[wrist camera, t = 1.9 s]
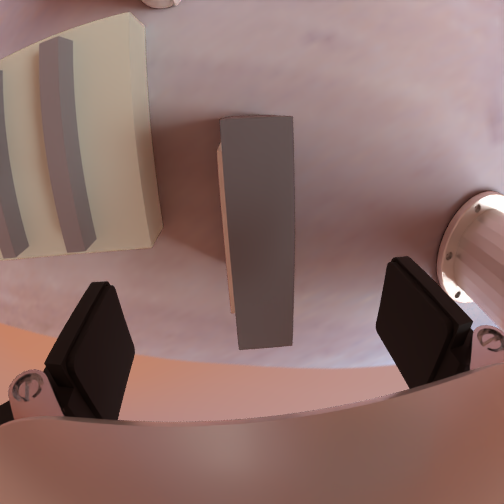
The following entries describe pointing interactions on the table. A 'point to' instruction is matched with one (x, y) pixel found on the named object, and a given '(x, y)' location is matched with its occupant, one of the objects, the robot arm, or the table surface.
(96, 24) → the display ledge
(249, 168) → the thin grey panel
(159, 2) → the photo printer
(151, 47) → the table surface
